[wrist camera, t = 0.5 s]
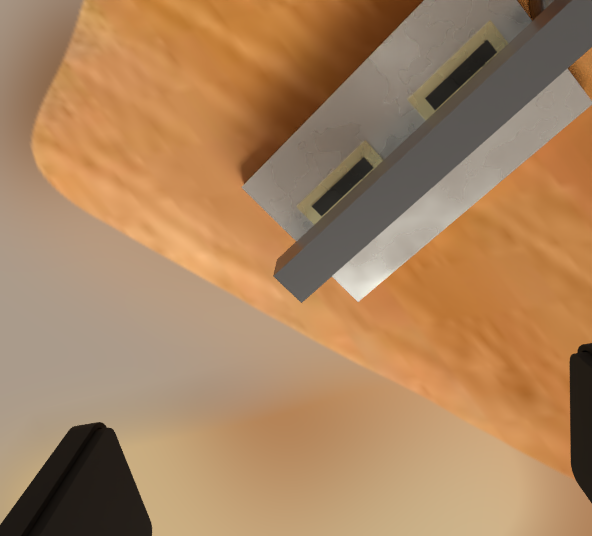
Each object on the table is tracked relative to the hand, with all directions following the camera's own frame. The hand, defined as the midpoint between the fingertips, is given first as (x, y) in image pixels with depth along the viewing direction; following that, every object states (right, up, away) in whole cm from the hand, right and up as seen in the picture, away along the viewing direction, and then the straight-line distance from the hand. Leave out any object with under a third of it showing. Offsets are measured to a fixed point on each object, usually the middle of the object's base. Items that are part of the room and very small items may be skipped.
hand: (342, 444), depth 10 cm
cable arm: (+8, +12, +19) cm, 24 cm away
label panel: (+7, +12, +23) cm, 26 cm away
